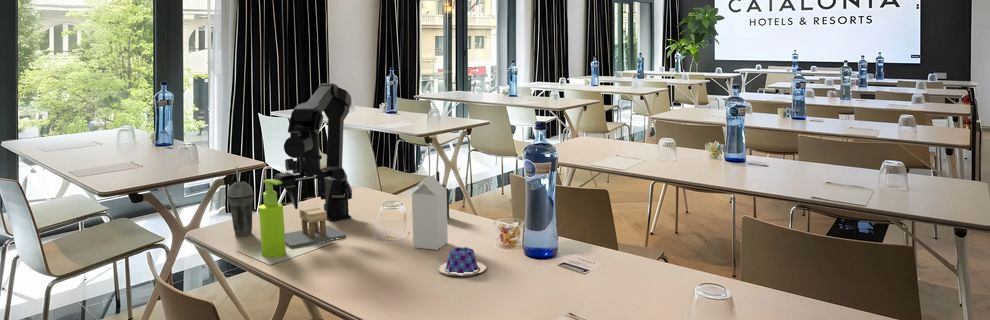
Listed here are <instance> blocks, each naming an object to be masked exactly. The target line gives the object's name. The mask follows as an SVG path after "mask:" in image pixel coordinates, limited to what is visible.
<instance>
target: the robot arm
mask: <svg viewBox="0 0 990 320" xmlns="http://www.w3.org/2000/svg"><path fill="white" fill-rule="evenodd" d="M351 106H352V96H351V94H350V93H349V92H348V91H347V90H346V89H343V88H342V87H339V86H338V85H337V84H335V83H329V82H328V83H319V84H318V86H317V89H316V90H315V91H314V93H313V94H312V95H311V97H310V98H309V99H308V100H307V101H306V102H302V103H299V104H297V105H296V106H295V107H294V108H293V110H292V111H291V114H290V119H289V124H288V128H287V133H289V135H290V136H289V137H288V138H286V139H285V141H284V145H283V150H284V153H285V154H286V156H288V157H290V158H285V160H284V166H285V170H286V172H282V173H281V172H280V173H276V174H275V175H274V178H273V179H275V180H279V181H281V182H282V184H279V185H277V186H278V187H280V188H282V189H284V190H285V191H286V192H287V194H288V195H289V198H290V200H291V203H292V205H293V207H294V209H295V210H298V209H299V208H298V207H299V200H298V199H299V198H298V197H299V196H298V186H297V185H295V184H296V183H297V182H304V181H310V180H311V181H312V180H318V179H319V182H318V192H319V195H320V200H321V201H322V200H324V204H323V210H324V211H326V214H327V220H329V221H331V222H333V221H339V220H344V219H350V218H352V215H350V214H349V200H351V199H353V189H352V187H351V184H350V182H349V181H348V175H347V173H346V171H345V169H344V168H343V150H344V149H343V148H344V147H343V146H344V145H343V144H344V122H345V120H346V118H347V116H348V115H349V113H350V107H351ZM323 113H324V114H325V116H326V118H327V138H326V139H327V140H326V141H327V142H326V143H327V144H326V145H327V147H326V166H325V167H324V170H322V169H321V160H323V159H322V157H323V156H322V155H321V153H320V151H321V150H320V133H321V131H320V129H321V127H322V124H323V121H324V114H323ZM294 159H296V160H294ZM290 171H292V173H291V172H290Z"/></svg>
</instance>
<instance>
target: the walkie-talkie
mask: <svg viewBox="0 0 990 320" xmlns="http://www.w3.org/2000/svg"><path fill="white" fill-rule="evenodd" d="M436 180H437V181H438V182H439V183H440V184H441V182H440V171H436ZM441 185H442V186H443V187H444V188H445V189H446V190H447V219H449V218H450V201H449V200H450V193H449V190H450V188H447V187H446V185H445V184H441Z"/></svg>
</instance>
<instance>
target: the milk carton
mask: <svg viewBox="0 0 990 320" xmlns="http://www.w3.org/2000/svg"><path fill="white" fill-rule="evenodd" d="M442 185H443V184H441V182H440V183H439V182H438V181H437V178H436V175H435V174H432V175H430V176H427V177H426V178H424V179H423V180H421V181H420V182H418V183H417V185H416V186H417V187H418V188H417V189H415V190H414V191H413V192H412V193H411V206H412V207H411V213H412V217H411V218H412V239H413V240H412V243H413V245H412V247H413V249H415V248H416V249H426V250H433V251H439V250H440V249H441V248H443V247H444V246H445V245H446V244H448V242H449V240H448V236H449V235H448V218H447V190H446V189H445V188H446V187H445V188H444V187H443V186H442ZM439 248H440V249H439Z"/></svg>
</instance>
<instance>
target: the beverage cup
mask: <svg viewBox="0 0 990 320" xmlns="http://www.w3.org/2000/svg"><path fill="white" fill-rule="evenodd" d="M238 170H239V169H238V166H235V174H236V181H235V182H233V183H232V184H231V185H230V186H229V187H228V189H227V195H226V198H227V202H228V205H229V207H230V208H229V209H230V214H231V219H232V220H231V221H232V227H233V231H234V236H235V237H237V238H245V237H249V236H251V235H252V231H253V204H254V203H253V202H254V195H255V194H254V191H253V188H252V186H251V184H249V183H248V182H246V181H243V180H241V181H240V177H239V171H238Z"/></svg>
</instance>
